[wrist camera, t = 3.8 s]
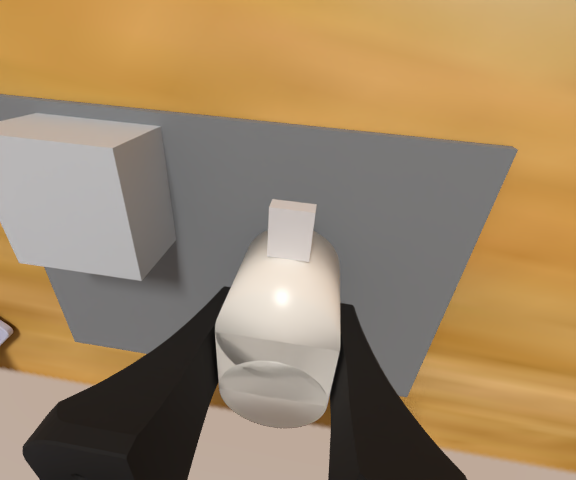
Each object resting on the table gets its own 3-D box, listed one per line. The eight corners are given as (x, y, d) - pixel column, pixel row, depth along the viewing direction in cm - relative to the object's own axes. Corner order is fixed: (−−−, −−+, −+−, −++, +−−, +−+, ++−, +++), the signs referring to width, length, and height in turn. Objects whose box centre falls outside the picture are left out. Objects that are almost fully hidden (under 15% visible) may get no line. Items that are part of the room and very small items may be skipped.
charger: (73, 226, 15) (19, 262, 12) (36, 112, 12) (-42, 130, 10) (176, 240, 15) (141, 281, 12) (160, 126, 12) (112, 148, 9)
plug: (320, 373, 17) (315, 455, 13) (245, 361, 17) (222, 438, 14) (356, 188, 11) (363, 249, 8) (245, 175, 12) (207, 229, 8)
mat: (79, 336, 20) (75, 341, 20) (-18, 92, 13) (-28, 93, 12) (405, 390, 18) (407, 397, 18) (512, 146, 11) (517, 149, 11)
